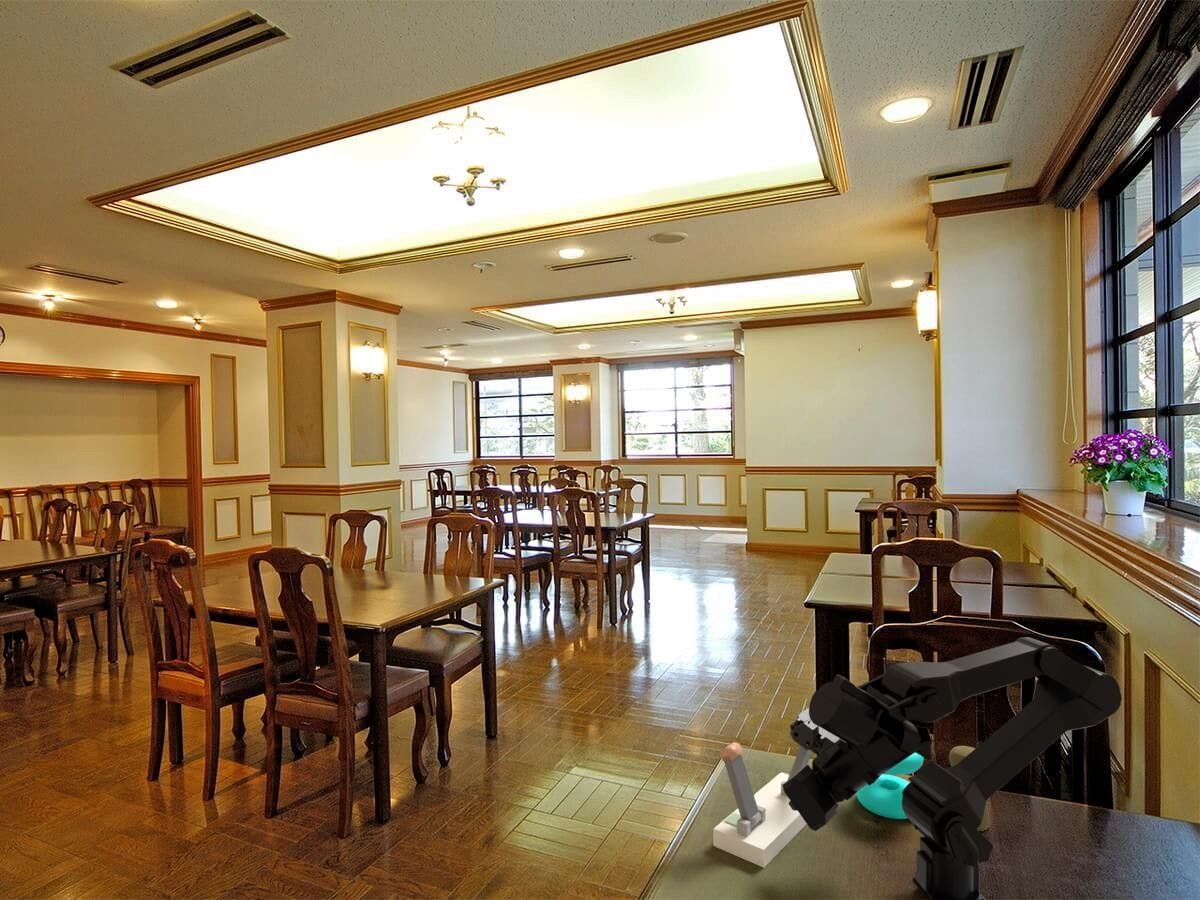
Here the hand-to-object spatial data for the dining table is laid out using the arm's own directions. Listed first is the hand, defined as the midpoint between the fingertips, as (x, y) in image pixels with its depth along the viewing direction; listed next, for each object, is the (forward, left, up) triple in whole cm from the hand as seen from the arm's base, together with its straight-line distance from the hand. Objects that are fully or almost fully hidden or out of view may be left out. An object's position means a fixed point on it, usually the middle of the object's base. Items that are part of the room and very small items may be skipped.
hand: (791, 806), depth 96 cm
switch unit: (0, -9, -7) cm, 12 cm away
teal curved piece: (-20, -13, -8) cm, 25 cm away
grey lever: (-5, -14, -4) cm, 16 cm away
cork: (-30, -8, -8) cm, 32 cm away
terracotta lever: (+5, -4, -4) cm, 7 cm away
